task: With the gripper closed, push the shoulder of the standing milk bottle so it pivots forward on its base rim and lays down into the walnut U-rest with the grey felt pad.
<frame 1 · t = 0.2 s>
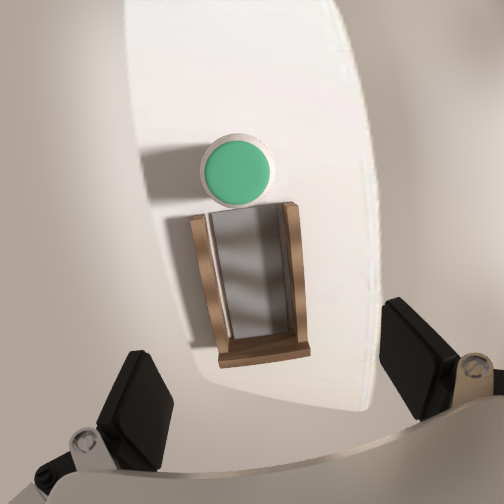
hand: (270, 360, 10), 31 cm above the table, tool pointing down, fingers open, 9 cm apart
milk bottle: (238, 169, 38), on the table
rest: (253, 277, 42), on the table
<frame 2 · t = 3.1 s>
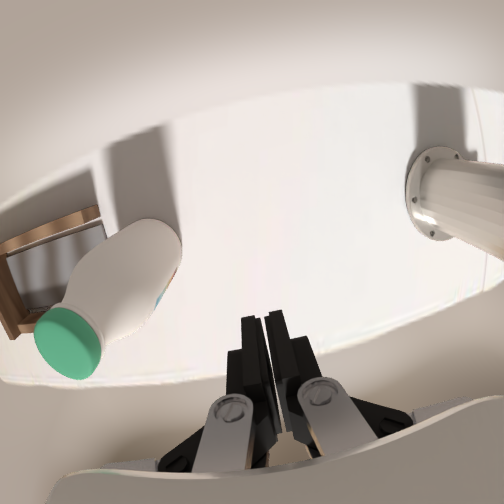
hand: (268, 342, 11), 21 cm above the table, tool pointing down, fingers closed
milk bottle: (152, 249, 32), on the table
rest: (56, 272, 32), on the table
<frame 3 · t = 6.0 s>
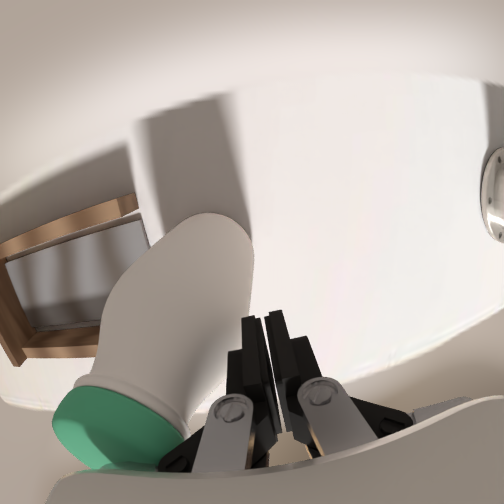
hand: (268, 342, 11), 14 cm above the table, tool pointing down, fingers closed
milk bottle: (211, 253, 25), on the table, touching gripper
rest: (72, 283, 25), on the table
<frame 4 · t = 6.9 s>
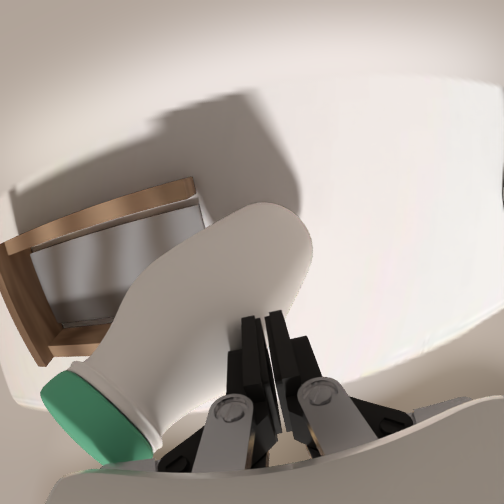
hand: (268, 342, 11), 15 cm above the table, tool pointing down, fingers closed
milk bottle: (269, 244, 24), point 1 cm above the table, touching gripper
rest: (112, 273, 26), on the table
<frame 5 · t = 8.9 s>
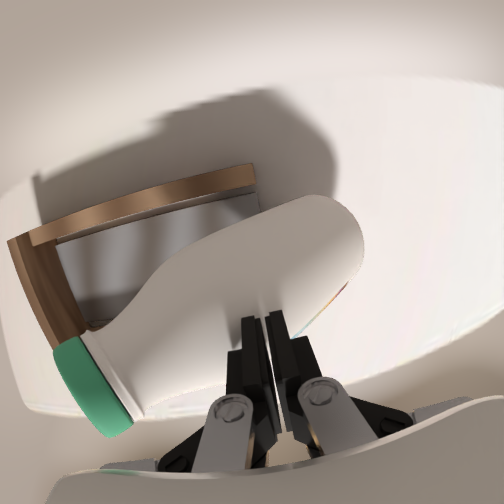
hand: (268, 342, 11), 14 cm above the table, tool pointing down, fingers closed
milk bottle: (324, 239, 22), point 3 cm above the table, touching gripper
rest: (154, 265, 25), on the table
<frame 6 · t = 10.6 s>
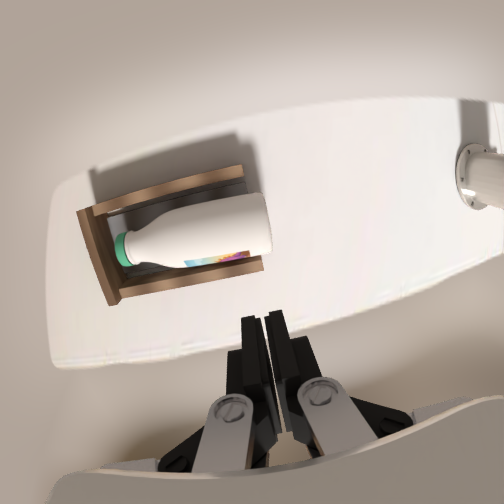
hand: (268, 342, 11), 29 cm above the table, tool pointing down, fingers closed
milk bottle: (269, 221, 35), point 4 cm above the table, touching rest
rest: (179, 229, 39), on the table
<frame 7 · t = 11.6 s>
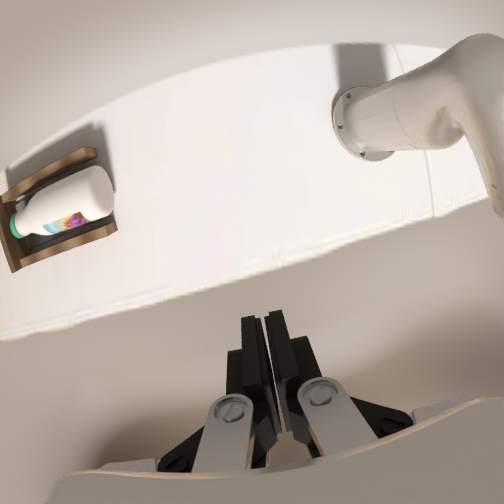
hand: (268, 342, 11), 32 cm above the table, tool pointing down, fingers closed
milk bottle: (104, 189, 35), point 4 cm above the table, touching rest
rest: (58, 209, 39), on the table
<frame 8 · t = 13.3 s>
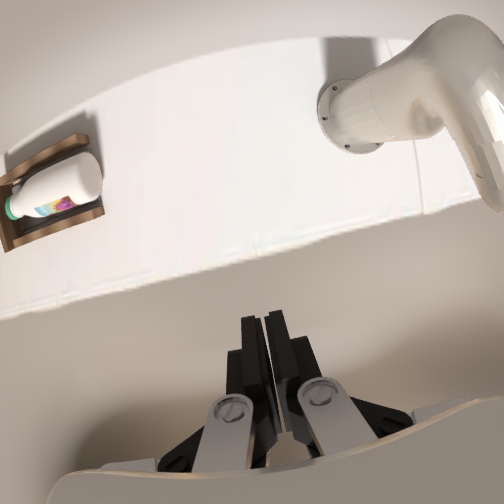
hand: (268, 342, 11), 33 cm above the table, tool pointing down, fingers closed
milk bottle: (92, 174, 35), point 4 cm above the table, touching rest
rest: (51, 192, 40), on the table
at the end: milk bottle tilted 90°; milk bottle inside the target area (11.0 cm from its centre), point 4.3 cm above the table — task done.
